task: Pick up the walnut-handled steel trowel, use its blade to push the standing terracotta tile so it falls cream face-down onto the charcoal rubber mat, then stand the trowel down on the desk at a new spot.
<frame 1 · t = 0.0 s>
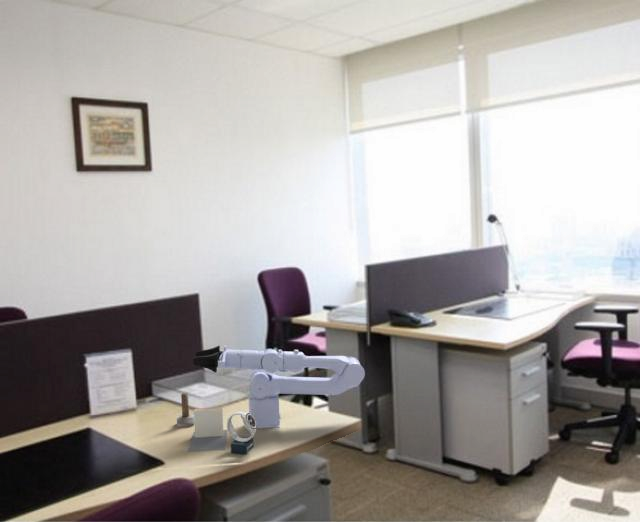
hand: (194, 357, 183), 22 cm above the table, tool horizontal, fingers open, 7 cm apart
trowel: (186, 425, 188), on the table
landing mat: (208, 442, 174), on the table
watch: (243, 452, 166), on the table
tile: (209, 435, 177), resting on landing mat
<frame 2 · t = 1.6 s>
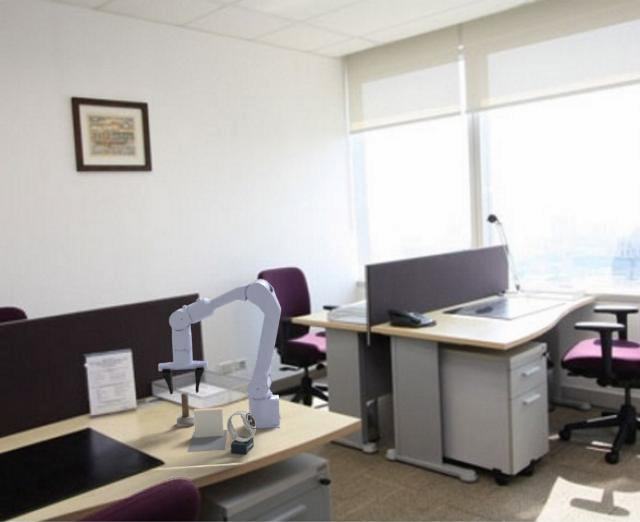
hand: (184, 392, 187), 10 cm above the table, tool pointing down, fingers open, 7 cm apart
nothing on the table moved.
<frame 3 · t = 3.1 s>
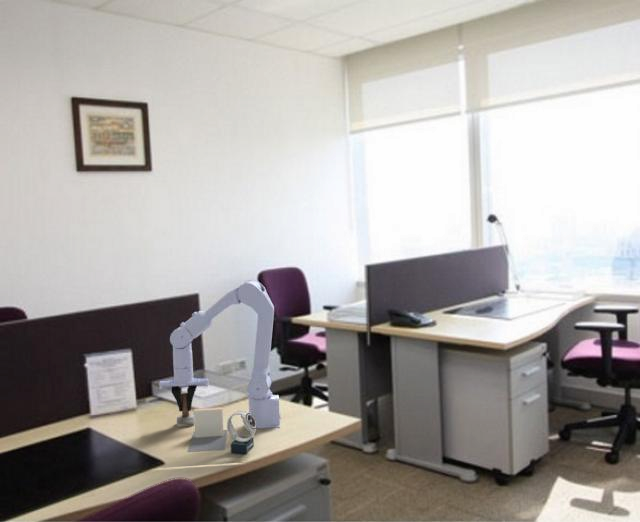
hand: (185, 410, 187), 5 cm above the table, tool pointing down, fingers closed on trowel, 2 cm apart
trowel: (186, 425, 188), on the table, touching gripper
everything else where it was.
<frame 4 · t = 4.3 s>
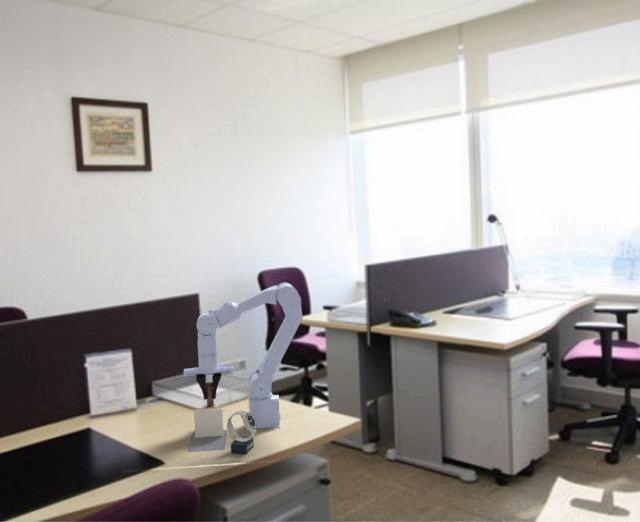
hand: (210, 398, 183), 9 cm above the table, tool pointing down, fingers closed on trowel
trowel: (210, 415, 184), point 4 cm above the table, touching gripper
everything else where it was.
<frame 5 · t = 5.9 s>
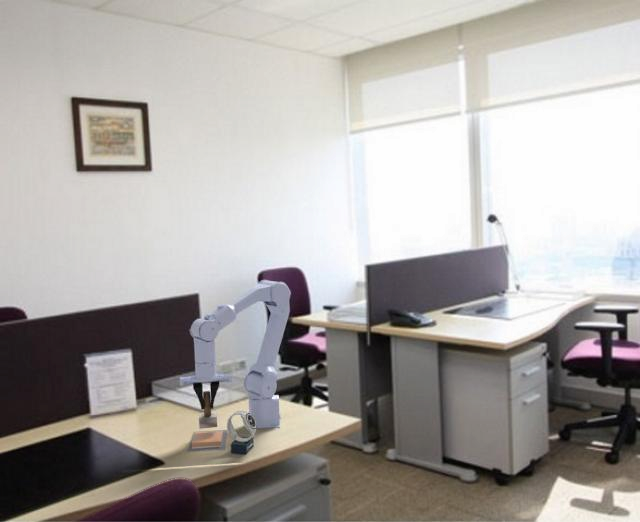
hand: (207, 408, 175), 9 cm above the table, tool pointing down, fingers closed on trowel
trowel: (208, 425, 175), point 4 cm above the table, touching gripper
tile: (209, 434, 176), point 1 cm above the table, tilted 90°, touching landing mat
everything else where it was.
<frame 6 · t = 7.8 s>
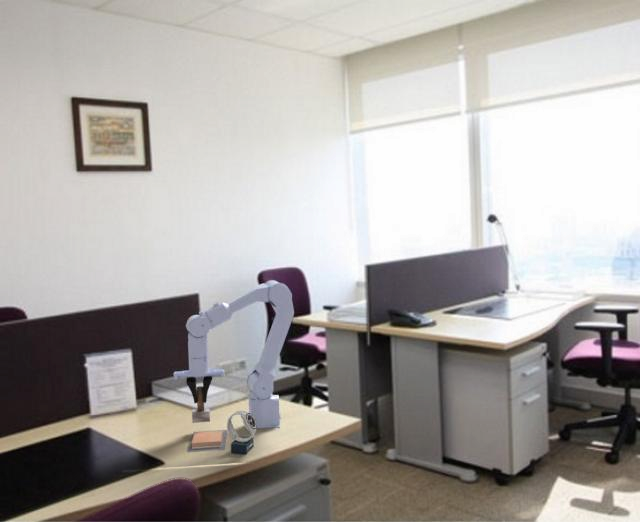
hand: (200, 402, 180), 9 cm above the table, tool pointing down, fingers closed on trowel
trowel: (201, 420, 180), point 4 cm above the table, touching gripper
everything else where it was.
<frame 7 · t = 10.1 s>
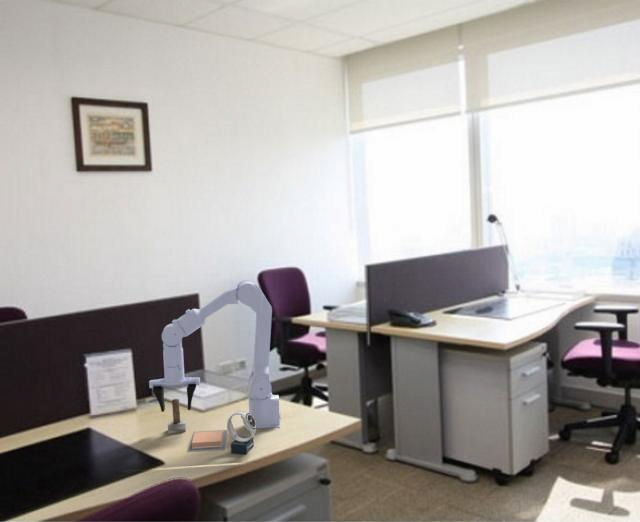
hand: (176, 409, 182), 7 cm above the table, tool pointing down, fingers open, 7 cm apart
trowel: (177, 432, 182), on the table
everything else where it was.
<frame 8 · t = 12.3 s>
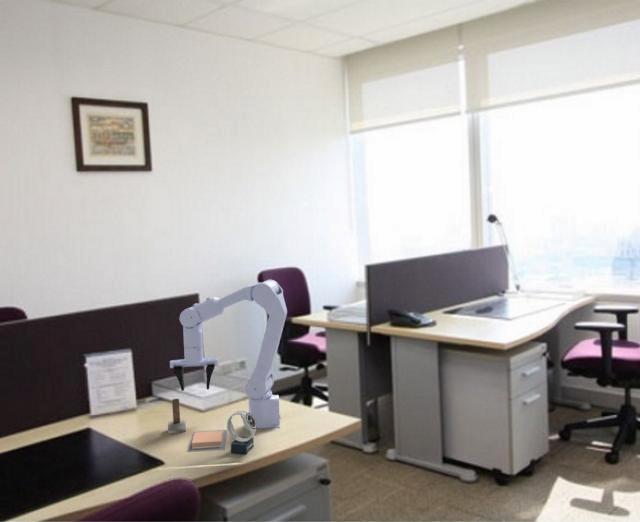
hand: (195, 389, 190), 10 cm above the table, tool pointing down, fingers open, 7 cm apart
nothing on the table moved.
at the end: tile tilted 90°; tile 1.1 cm from the target spot, point 1.3 cm above the table; trowel 0.2 cm from the target spot, on the table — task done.
